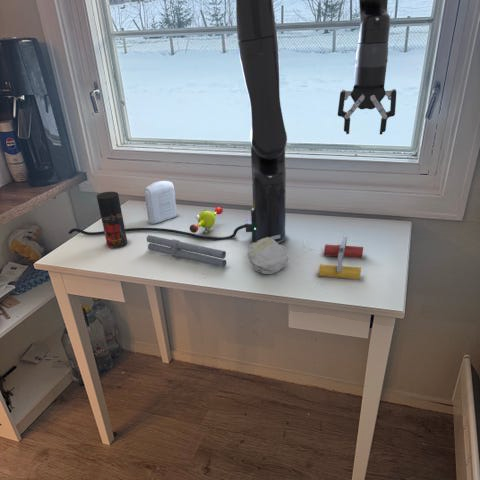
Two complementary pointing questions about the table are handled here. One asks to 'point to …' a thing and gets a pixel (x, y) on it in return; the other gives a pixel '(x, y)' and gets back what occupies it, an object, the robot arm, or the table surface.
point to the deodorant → (112, 219)
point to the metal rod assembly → (179, 248)
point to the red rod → (349, 251)
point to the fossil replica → (267, 256)
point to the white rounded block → (160, 201)
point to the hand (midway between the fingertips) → (364, 133)
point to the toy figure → (206, 220)
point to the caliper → (341, 254)
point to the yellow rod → (345, 273)
